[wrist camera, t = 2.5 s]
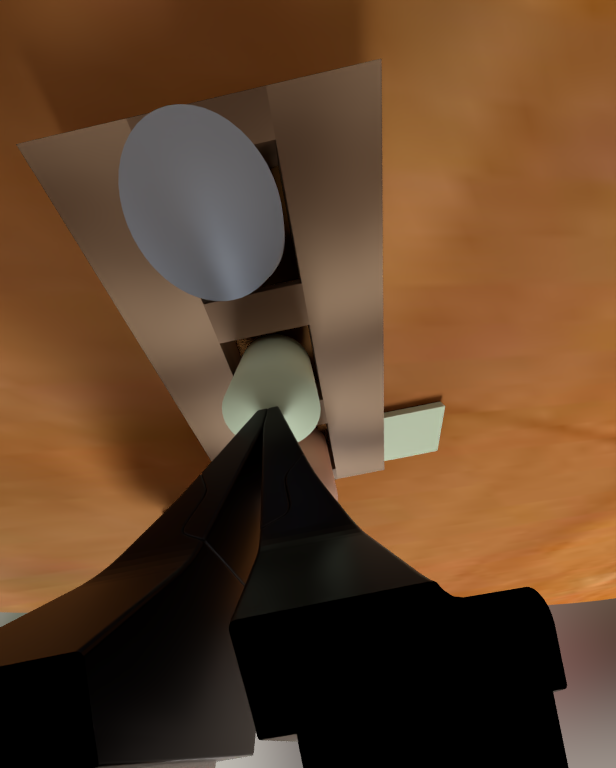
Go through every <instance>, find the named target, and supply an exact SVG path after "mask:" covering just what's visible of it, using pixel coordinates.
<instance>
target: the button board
mask: <svg viewBox="0 0 616 768" xmlns="http://www.w3.org/2000/svg"><path fill="white" fill-rule="evenodd" d="M186 105H194V106H198V107H202V108H206V109H208V110H210V111H213V112H215V113H217V114H219V115H221V116H222V117H224V118H225V119H227V120H229V121H230V122H231V123H233V124H234V125H235V126H236V127H237V128H239V129H240V130H241V131H242V132H243V133H244V134H245V135H246V136H247V137H248V138H249V139H250V140H251V142H252V143H253V144H254V145H255V147H256V148H257V149H258V151H259V152H260V154H261V155H262V157H263V158H264V160H265V162H266V163H267V165H268V167H269V168H272V167H276V166H278V167H279V173H280V178H281V183H282V189H283V194H284V199H285V205H286V210H287V216H288V221H289V226H290V232H291V237H292V242H293V248H294V253H295V259H296V264H297V269H298V275H299V279H297V280H292V281H287V282H283V283H278V284H273V285H269V286H264V287H259V288H257V289H256V290H255V291H253V292H252V293H250V294H248V295H246V296H244V297H242V298H238V299H235V300H229V301H212V300H206V299H202V298H198V297H196V296H193V295H190V294H188V293H186V292H184V291H182V290H181V289H179V288H177V287H176V286H174V285H173V284H171V283H170V282H169V281H168V280H166V279H165V278H164V277H163V276H162V275H161V274H160V273H159V272H158V271H157V270H156V269H155V268H154V267H153V266H152V265H151V264H150V263H149V261H148V260H147V259H146V258H145V256H144V255H143V253H142V252H141V250H140V249H139V247H138V246H137V244H136V242H135V240H134V238H133V237H132V234H131V232H130V230H129V228H128V225H127V223H126V220H125V216H124V213H123V210H122V205H121V201H120V194H119V185H118V182H119V165H120V158H121V154H122V151H123V148H124V145H125V142H126V140H127V138H128V136H129V134H130V133H131V131H132V130H133V128H134V127H135V126H136V124H137V123H138V122H139V121H140V120H141V119H143V118H144V117H145V116H146V115H148V114H149V113H147V114H143V115H138V116H134V117H130V118H126V119H121V120H117V121H113V122H109V123H104V124H100V125H96V126H91V127H87V128H83V129H79V130H74V131H70V132H66V133H62V134H57V135H53V136H49V137H45V138H40V139H36V140H32V141H27V142H23V143H19V144H16V145H17V146H18V148H19V150H20V151H21V153H22V155H23V156H24V158H25V159H26V161H27V163H28V164H29V166H30V168H31V169H32V171H33V172H34V174H35V176H36V177H37V179H38V180H39V182H40V184H41V185H42V187H43V189H44V190H45V192H46V193H47V195H48V197H49V198H50V200H51V202H52V203H53V205H54V206H55V208H56V210H57V211H58V213H59V215H60V216H61V218H62V219H63V221H64V223H65V224H66V226H67V228H68V229H69V231H70V232H71V234H72V236H73V237H74V239H75V241H76V242H77V244H78V245H79V247H80V249H81V250H82V252H83V254H84V255H85V257H86V258H87V260H88V262H89V263H90V265H91V266H92V268H93V270H94V271H95V273H96V275H97V276H98V278H99V279H100V281H101V283H102V284H103V286H104V288H105V289H106V291H107V292H108V294H109V296H110V297H111V299H112V301H113V302H114V304H115V305H116V307H117V309H118V310H119V312H120V314H121V315H122V317H123V318H124V320H125V322H126V323H127V325H128V327H129V328H130V330H131V331H132V333H133V335H134V336H135V338H136V340H137V341H138V343H139V344H140V346H141V348H142V349H143V351H144V352H145V354H146V356H147V357H148V359H149V361H150V362H151V364H152V365H153V367H154V369H155V370H156V372H157V374H158V375H159V377H160V378H161V380H162V382H163V383H164V385H165V387H166V388H167V390H168V391H169V393H170V395H171V396H172V398H173V400H174V401H175V403H176V404H177V406H178V408H179V409H180V411H181V413H182V414H183V416H184V417H185V419H186V421H187V422H188V424H189V426H190V427H191V429H192V430H193V432H194V434H195V435H196V437H197V438H198V440H199V442H200V443H201V445H202V447H203V448H204V450H205V451H206V453H207V455H208V456H209V458H210V460H211V461H213V460H214V459H215V457H216V456H217V455H218V454H219V453H220V452H221V451H222V450H223V449H224V447H225V446H226V445H227V444H228V443H229V442H230V441H231V440H232V438H233V437H234V436H235V434H234V433H233V432H232V431H231V430H230V429H229V428H228V426H227V425H226V423H225V420H224V418H223V414H222V402H223V399H224V396H225V394H226V391H227V389H228V387H229V385H230V383H231V380H232V378H233V376H234V374H235V372H236V369H237V367H238V365H239V363H240V361H241V356H240V353H239V350H238V348H237V345H236V342H235V340H239V339H244V338H249V337H253V336H258V335H263V334H268V333H272V332H277V331H282V330H287V329H292V328H296V327H301V326H306V325H308V328H309V334H310V339H311V344H312V350H313V355H314V360H315V366H316V371H317V377H318V380H315V384H316V388H317V392H318V397H319V401H320V408H321V411H320V418H319V421H318V423H317V425H321V424H326V425H327V430H328V436H329V441H330V445H327V447H328V452H329V457H330V461H331V466H332V471H333V475H334V479H339V478H344V477H349V476H354V475H360V474H365V473H370V472H375V471H380V470H384V362H383V214H382V66H381V59H378V60H373V61H369V62H365V63H361V64H356V65H352V66H348V67H343V68H339V69H335V70H331V71H326V72H322V73H318V74H314V75H309V76H305V77H301V78H296V79H292V80H288V81H284V82H279V83H275V84H271V85H267V86H262V87H258V88H254V89H250V90H245V91H241V92H237V93H232V94H228V95H224V96H220V97H215V98H211V99H207V100H203V101H198V102H194V103H190V104H186Z"/></svg>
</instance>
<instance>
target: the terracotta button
mask: <svg viewBox="0 0 616 768" xmlns="http://www.w3.org/2000/svg"><path fill="white" fill-rule="evenodd" d="M298 443H299V445H300V447H301V449H302V451H303V453H304V455H305V456H306V458H307V460H308V462H309V463H310V465H311V467H312V468H313V470H314V472H315V473H316V474H317V476H318V477H319V479H320V480H321V481H322V483H323V484H324V485H325V487H326V488H327V489H328V490H329V492H330V493H331V494H332V495H333V497H334V498H335V499H336V500H337V502H338V494H337V489H336V485H335V480H334V475H333V471H332V466H331V461H330V457H329V452H328V447H327V443H326V439H325V436H324V435H323V433H322V432H321V431H320V430H318V429H317V428H314V430H313V431H312V432H311V433H310V434H309V435H308V436H307V437H306V438H304V439H303V440H301V441H299V442H298Z"/></svg>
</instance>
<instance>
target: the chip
mask: <svg viewBox="0 0 616 768" xmlns="http://www.w3.org/2000/svg"><path fill="white" fill-rule="evenodd" d="M444 409H445V405H443V404H442V403H441V402H436V403H431V404H426V405H421V406H416V407H410V408H405V409H400V410H395V411H390V412H385V413H384V461H387V460H392V459H397V458H402V457H407V456H413V455H418V454H423V453H428V452H433V451H437V450H438V444H439V438H440V432H441V427H442V421H443V415H444Z"/></svg>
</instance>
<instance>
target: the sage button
mask: <svg viewBox="0 0 616 768" xmlns="http://www.w3.org/2000/svg"><path fill="white" fill-rule="evenodd" d="M275 406H278V407H279V409H280V410H281V412H282V414H283V416H284V418H285V420H286V421H287V423H288V425H289V427H290V429H291V431H292V432H293V434H294V436H295V438H296V440H297V442H299V441H301V440H303V439H304V438H306V437H307V436H308V435H309V434H310V433H311V432H312V431H313V430H314V428H315V427H316V425H317V423H318V421H319V418H320V411H321V408H320V401H319V397H318V392H317V388H316V384H315V379H314V375H313V370H312V366H311V362H310V358H309V355H308V353H307V351H306V350H305V348H304V347H303V346H302V345H301V344H300V343H299V342H297V341H296V340H294V339H292V338H290V337H288V336H284V335H279V334H271V335H266V336H262V337H260V338H258V339H256V340H255V341H253V342H252V343H251V344H250V345H249V346H248V347H247V349H246V350H245V352H244V354H243V356H242V358H241V361H240V363H239V365H238V367H237V369H236V372H235V374H234V376H233V378H232V380H231V383H230V385H229V387H228V389H227V391H226V394H225V396H224V399H223V402H222V414H223V418H224V420H225V423H226V425H227V426H228V428H229V429H230V430H231V431H232V432H233V433H234V434H235V435H236V434H237V433H238V432H239V431H240V429H241V428H242V427H243V426H244V425H245V424H246V423H247V422H248V420H249V419H250V418H251V417H252V416H253V415H254V414H255V413H256V412H257V411H258V410H261V409H266V408H267V409H268V408H271V407H275Z"/></svg>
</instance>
